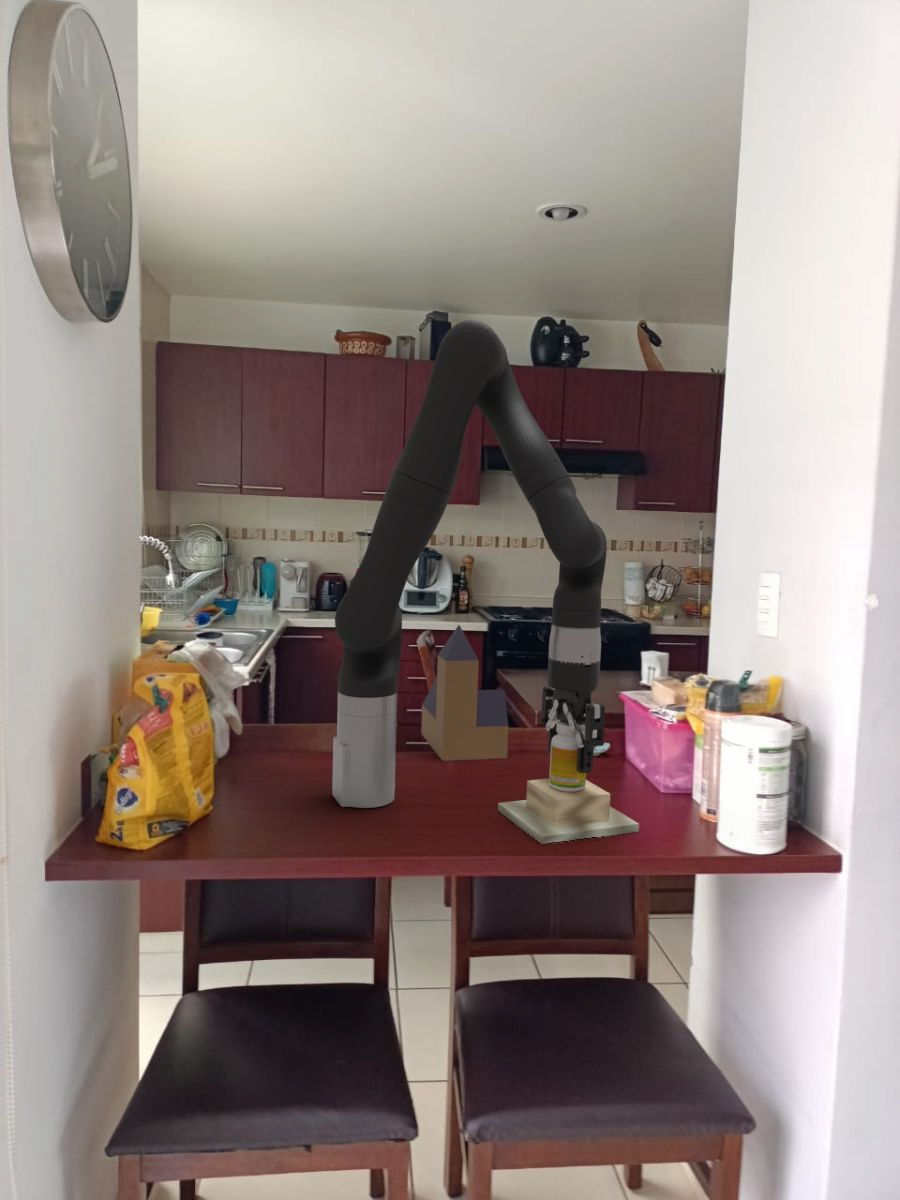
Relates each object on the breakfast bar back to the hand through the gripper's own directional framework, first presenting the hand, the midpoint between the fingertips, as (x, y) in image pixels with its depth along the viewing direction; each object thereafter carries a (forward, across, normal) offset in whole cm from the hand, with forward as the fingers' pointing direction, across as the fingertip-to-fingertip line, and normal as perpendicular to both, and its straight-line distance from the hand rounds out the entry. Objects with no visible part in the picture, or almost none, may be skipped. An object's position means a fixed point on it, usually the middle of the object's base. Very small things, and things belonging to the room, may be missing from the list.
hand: (569, 763), depth 123 cm
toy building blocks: (+9, -42, +1) cm, 43 cm away
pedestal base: (+9, 0, 0) cm, 9 cm away
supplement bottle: (+4, 0, 0) cm, 4 cm away
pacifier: (+9, -30, +23) cm, 39 cm away
